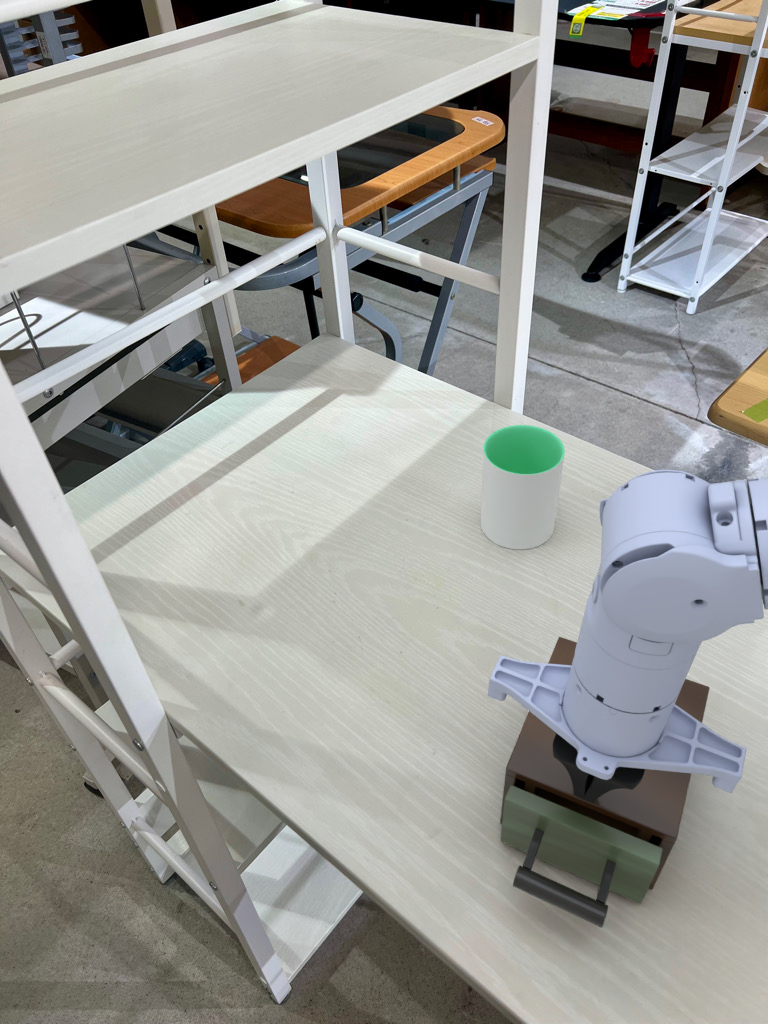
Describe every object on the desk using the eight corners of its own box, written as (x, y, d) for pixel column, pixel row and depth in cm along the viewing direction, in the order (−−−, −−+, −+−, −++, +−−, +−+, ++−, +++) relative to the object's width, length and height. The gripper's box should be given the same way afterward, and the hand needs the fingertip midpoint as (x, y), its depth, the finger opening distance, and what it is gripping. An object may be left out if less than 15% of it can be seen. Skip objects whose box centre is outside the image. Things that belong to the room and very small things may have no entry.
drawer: (626, 965, 50) (644, 930, 45) (479, 894, 53) (482, 855, 49) (673, 765, 60) (692, 720, 55) (547, 718, 63) (554, 671, 59)
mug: (482, 475, 88) (485, 402, 81) (551, 477, 87) (560, 403, 80) (479, 547, 80) (482, 473, 73) (556, 551, 79) (566, 476, 72)
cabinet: (652, 890, 54) (677, 839, 48) (499, 822, 58) (505, 768, 52) (685, 745, 62) (710, 686, 56) (549, 695, 66) (558, 635, 60)
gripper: (474, 674, 40) (463, 791, 50) (760, 787, 35) (688, 894, 45) (518, 585, 45) (500, 708, 54) (777, 674, 40) (708, 792, 49)
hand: (587, 786), depth 50 cm, fingers closed
